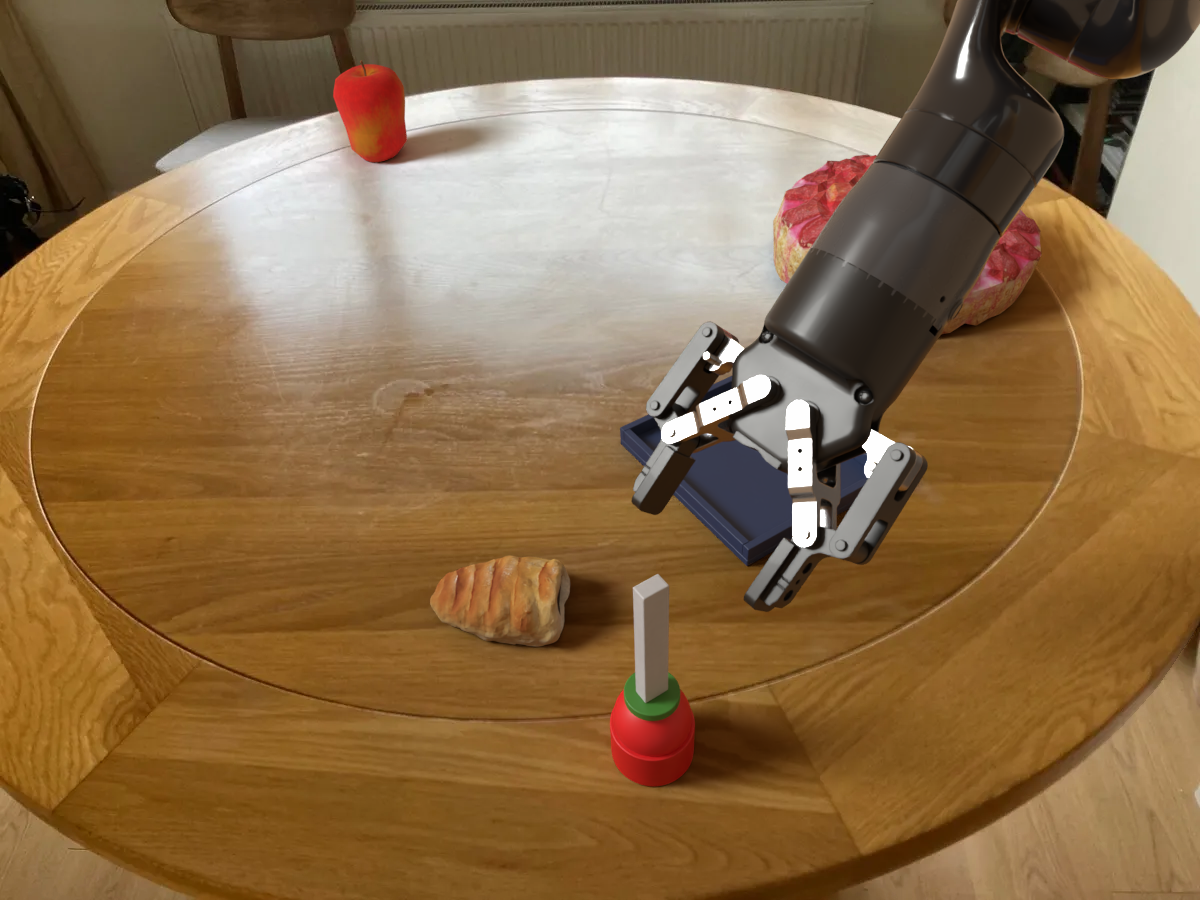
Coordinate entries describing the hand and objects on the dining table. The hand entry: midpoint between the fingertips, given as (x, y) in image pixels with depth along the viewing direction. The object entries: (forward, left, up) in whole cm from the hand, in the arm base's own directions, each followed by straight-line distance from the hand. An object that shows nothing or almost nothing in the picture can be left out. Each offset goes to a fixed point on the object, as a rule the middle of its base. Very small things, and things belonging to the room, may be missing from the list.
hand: (697, 555), depth 49 cm
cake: (+30, -48, -16) cm, 59 cm away
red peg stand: (0, +3, -15) cm, 16 cm away
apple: (+87, -17, -16) cm, 90 cm away
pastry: (+14, +5, -16) cm, 21 cm away
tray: (+16, -18, -15) cm, 28 cm away
